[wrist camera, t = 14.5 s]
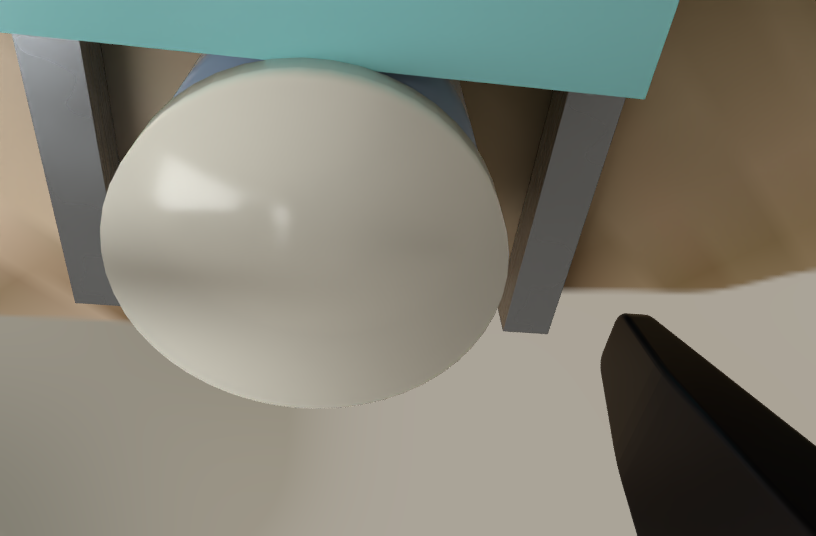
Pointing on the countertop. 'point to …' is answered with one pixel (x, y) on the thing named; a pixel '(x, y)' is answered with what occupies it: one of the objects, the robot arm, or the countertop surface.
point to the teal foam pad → (388, 35)
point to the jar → (307, 230)
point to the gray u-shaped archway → (98, 162)
